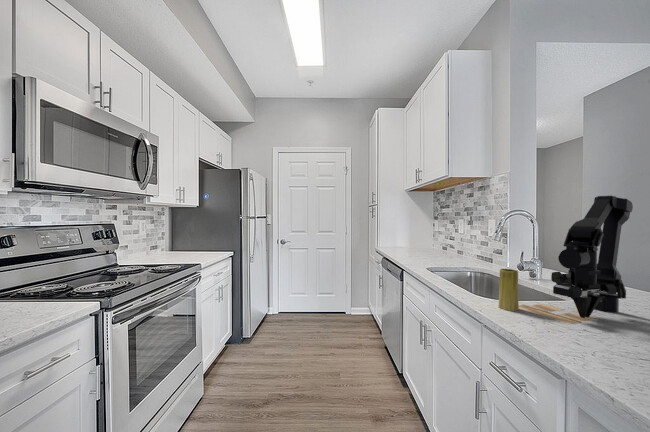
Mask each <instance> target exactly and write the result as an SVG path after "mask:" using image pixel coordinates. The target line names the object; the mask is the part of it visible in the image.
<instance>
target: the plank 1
mask: <svg viewBox="0 0 650 432" xmlns="http://www.w3.org/2000/svg"><path fill="white" fill-rule="evenodd" d="M529 306H530V307H533V308H536V309H540V310H543V311H547V312H550V313H552V312H560V311H565V309H563V308H559V307H556V306H552V305H549V304H544V303H543V304H532V305H529Z"/></svg>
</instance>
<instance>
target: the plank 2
mask: <svg viewBox="0 0 650 432" xmlns="http://www.w3.org/2000/svg"><path fill="white" fill-rule="evenodd" d="M557 315H560V316H563V317H567V318H570V319H574V320H577V321H580V322H582V323H583V322H591V321H600V318H595V317H593V316H592V317H591V316H589V318H587V317H585V318H581V317H580V315H579V313H578V312H567V313H566V312H565V313H557Z"/></svg>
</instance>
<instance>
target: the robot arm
mask: <svg viewBox="0 0 650 432" xmlns="http://www.w3.org/2000/svg"><path fill="white" fill-rule="evenodd" d="M632 212H633V202H632V201H631V200H629V199H627V198H623V197H618V196H616V195H598V196H595V197H594V200H593V204H592V205H591V207H590V208H589V209H588V211H587V212H586V214H585V216H584V218H582V219H580V220H576V221H575V222H574V223H573V224H572V225H571V226H570V228H568V231H567V234H566V237H565V239H564V242H563V247H566V248H565V249H563V250H562V251H560V253H559V254H558V257H557V258H558V261H559V262H558V263H559V264H560V265H561V266H562V267H563V268H566V269H568V272H567V273H561V271H553V272H551V275H550V276H551V277H550V278H551V279H550V280H551V282H553V283H555V285H554V286H552V293H553V294H554V295H559V296H562V297H567V298H570V299H571V300H572V301H573V303H574V305H575V307H576V310H577V313H578V314H579V315H580V317H581V318H585V317H587V318H589V317H591V315H592V313H593V311H598V312H599V311H600V312H602V313H618V312H619V303H620V302H619V301H620V300H621V299H627V289H626V287H625V285H624V282H623V279H622V275H621V273H620V272H619V270H618V268H617V263H618V262H617V261H618V256H619V247H620V241H621V233H622V226H623V225H624V224H625V223H626V222H627V221H628V220H629V219H630V216H631V213H632ZM598 247H599V249H598ZM598 251H599V253H598ZM619 299H620V300H619ZM619 313H620V312H619Z"/></svg>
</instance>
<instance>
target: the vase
mask: <svg viewBox="0 0 650 432" xmlns="http://www.w3.org/2000/svg"><path fill="white" fill-rule="evenodd" d="M498 286H499V288H498V289H499V291H498V295H499V296H498V309H500V310H504V311H509V312H517V311H519V310H520V309H519V306H520V305H519V270H517V269H513V268H512V269H511V268H499V285H498Z"/></svg>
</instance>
